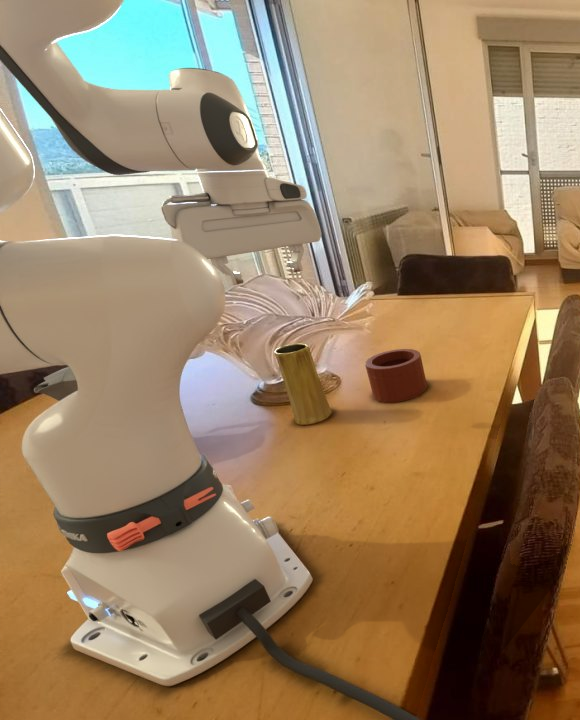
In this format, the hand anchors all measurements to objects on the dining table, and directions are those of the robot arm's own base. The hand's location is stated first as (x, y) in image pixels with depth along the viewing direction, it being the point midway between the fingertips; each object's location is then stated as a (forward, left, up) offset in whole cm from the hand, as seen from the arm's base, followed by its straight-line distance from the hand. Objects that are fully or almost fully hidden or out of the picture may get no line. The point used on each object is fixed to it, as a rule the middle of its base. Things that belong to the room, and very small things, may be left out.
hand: (267, 277), depth 80 cm
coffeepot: (+20, +20, -27) cm, 39 cm away
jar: (-6, -15, -27) cm, 32 cm away
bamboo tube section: (0, 0, -27) cm, 27 cm away
